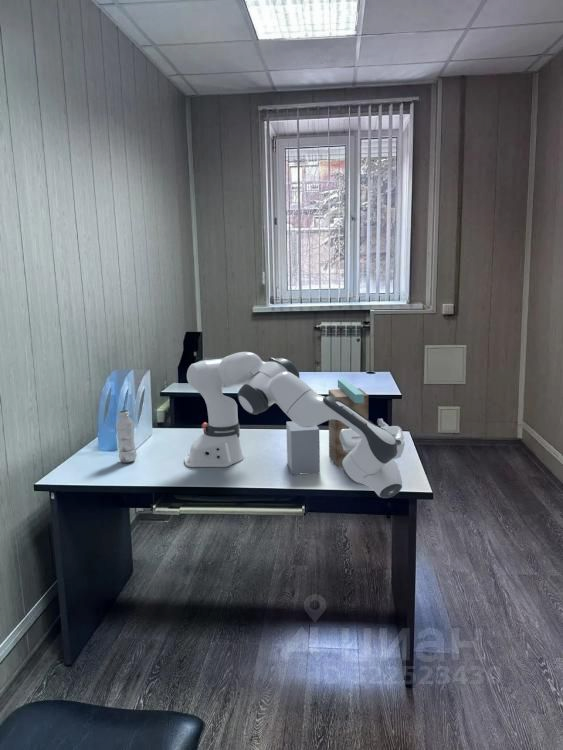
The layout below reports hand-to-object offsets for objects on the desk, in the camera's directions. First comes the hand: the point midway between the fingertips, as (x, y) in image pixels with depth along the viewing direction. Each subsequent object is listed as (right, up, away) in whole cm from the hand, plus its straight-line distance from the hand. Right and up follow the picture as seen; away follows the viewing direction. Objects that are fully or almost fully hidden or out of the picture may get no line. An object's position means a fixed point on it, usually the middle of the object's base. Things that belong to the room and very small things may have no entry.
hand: (365, 420), depth 180 cm
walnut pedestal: (-3, -17, +25) cm, 30 cm away
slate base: (-20, -19, +18) cm, 33 cm away
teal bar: (-3, +8, +17) cm, 19 cm away
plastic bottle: (-87, -18, +29) cm, 93 cm away
